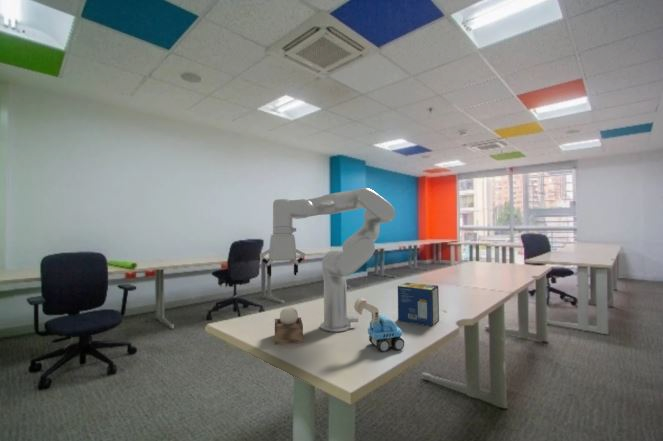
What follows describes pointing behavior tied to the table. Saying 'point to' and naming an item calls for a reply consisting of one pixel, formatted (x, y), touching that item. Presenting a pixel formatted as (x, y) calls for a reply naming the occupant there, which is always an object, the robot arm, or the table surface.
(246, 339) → the table surface
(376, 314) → the toy excavator
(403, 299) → the protein box
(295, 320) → the steamed bun
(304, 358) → the table surface
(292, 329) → the walnut block
